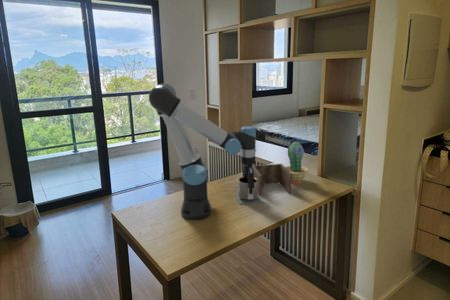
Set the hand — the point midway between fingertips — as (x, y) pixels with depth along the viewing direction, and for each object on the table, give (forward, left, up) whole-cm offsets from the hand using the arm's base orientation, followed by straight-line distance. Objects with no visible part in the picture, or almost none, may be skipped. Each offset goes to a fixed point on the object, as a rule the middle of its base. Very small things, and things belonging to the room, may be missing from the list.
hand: (248, 194), depth 172 cm
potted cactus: (+34, +20, -3) cm, 40 cm away
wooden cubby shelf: (+16, +12, -2) cm, 20 cm away
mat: (0, 0, -2) cm, 2 cm away
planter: (0, 0, -1) cm, 1 cm away
